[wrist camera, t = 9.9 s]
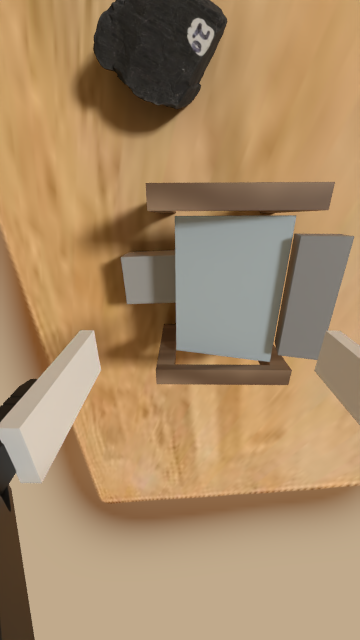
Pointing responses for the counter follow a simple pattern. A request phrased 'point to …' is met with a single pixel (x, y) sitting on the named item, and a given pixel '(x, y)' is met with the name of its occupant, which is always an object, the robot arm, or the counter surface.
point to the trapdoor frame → (230, 199)
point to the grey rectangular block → (149, 276)
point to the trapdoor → (254, 286)
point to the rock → (159, 46)
